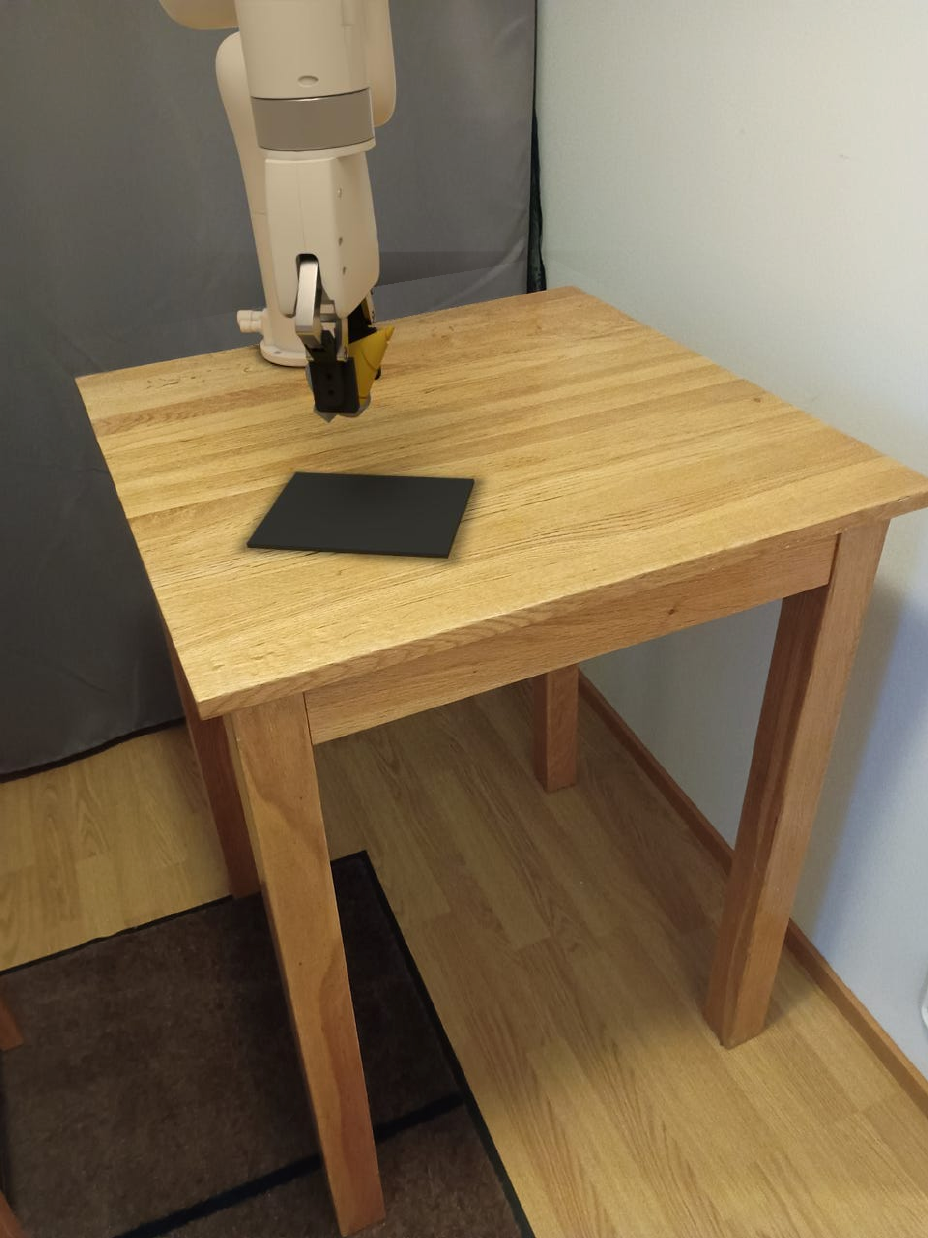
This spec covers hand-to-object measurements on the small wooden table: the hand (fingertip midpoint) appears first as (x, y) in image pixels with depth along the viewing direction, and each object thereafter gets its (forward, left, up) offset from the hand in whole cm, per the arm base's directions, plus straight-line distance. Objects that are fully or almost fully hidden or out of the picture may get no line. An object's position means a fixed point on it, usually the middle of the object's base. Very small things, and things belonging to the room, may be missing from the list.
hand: (349, 392), depth 69 cm
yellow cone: (0, 0, -2) cm, 2 cm away
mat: (0, 0, -10) cm, 10 cm away
